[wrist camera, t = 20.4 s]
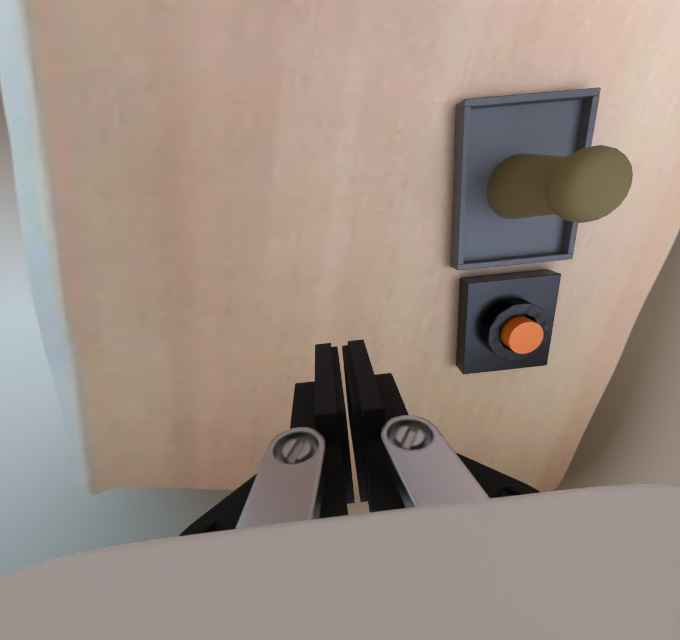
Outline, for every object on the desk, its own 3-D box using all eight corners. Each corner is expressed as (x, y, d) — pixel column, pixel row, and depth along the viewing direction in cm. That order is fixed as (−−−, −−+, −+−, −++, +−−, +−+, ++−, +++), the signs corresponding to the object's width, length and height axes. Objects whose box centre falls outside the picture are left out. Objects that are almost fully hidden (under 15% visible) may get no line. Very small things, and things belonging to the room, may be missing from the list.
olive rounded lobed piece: (558, 166, 33) (669, 154, 22) (527, 227, 34) (616, 241, 24) (505, 143, 32) (596, 120, 21) (476, 207, 33) (546, 214, 23)
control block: (459, 278, 37) (475, 287, 33) (548, 269, 37) (573, 277, 33) (455, 365, 41) (469, 382, 37) (535, 356, 41) (557, 373, 37)
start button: (501, 317, 35) (510, 323, 33) (535, 314, 35) (545, 319, 33) (498, 348, 36) (507, 355, 35) (531, 344, 36) (541, 352, 35)
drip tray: (456, 104, 31) (464, 99, 29) (584, 93, 31) (601, 87, 29) (450, 266, 36) (457, 270, 34) (559, 255, 37) (572, 259, 35)
